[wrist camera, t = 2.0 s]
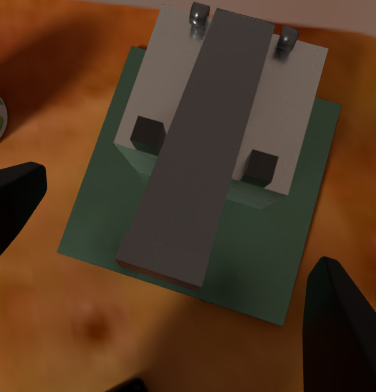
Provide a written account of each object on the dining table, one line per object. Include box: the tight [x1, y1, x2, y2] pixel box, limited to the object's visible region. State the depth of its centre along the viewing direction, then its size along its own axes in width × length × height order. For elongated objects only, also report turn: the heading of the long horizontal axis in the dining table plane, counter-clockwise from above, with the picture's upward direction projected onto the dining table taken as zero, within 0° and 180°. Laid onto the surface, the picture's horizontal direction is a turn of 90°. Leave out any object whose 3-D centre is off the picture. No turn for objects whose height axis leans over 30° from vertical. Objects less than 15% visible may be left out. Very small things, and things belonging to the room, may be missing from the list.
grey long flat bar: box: [114, 8, 276, 292], centre depth 14 cm, size 14×3×2 cm, turn 163°
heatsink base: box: [57, 2, 341, 326], centre depth 19 cm, size 16×16×9 cm
